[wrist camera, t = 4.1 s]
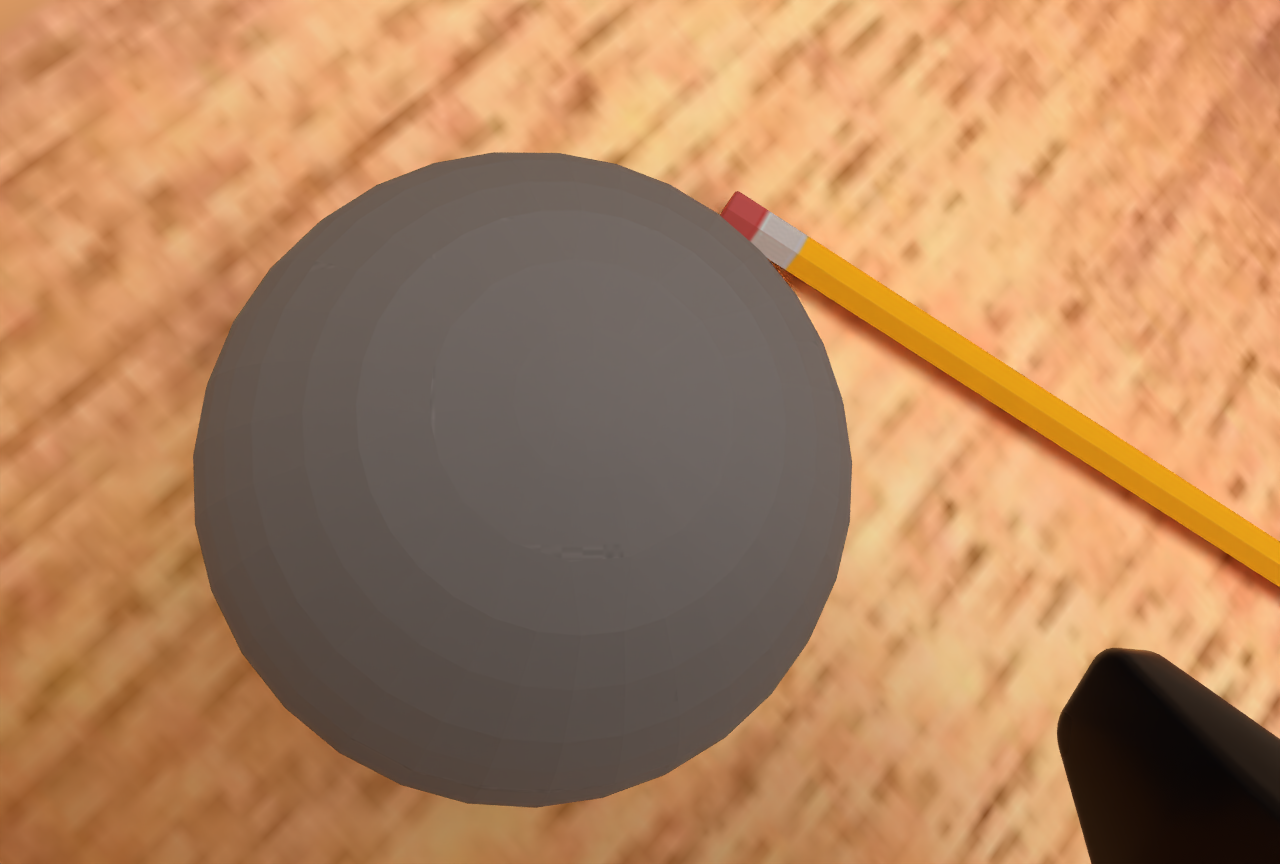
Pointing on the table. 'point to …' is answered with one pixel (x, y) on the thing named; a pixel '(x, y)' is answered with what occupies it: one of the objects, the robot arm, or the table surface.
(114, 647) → the table surface
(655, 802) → the table surface
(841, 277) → the pencil
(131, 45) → the table surface
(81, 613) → the table surface
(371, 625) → the light bulb
